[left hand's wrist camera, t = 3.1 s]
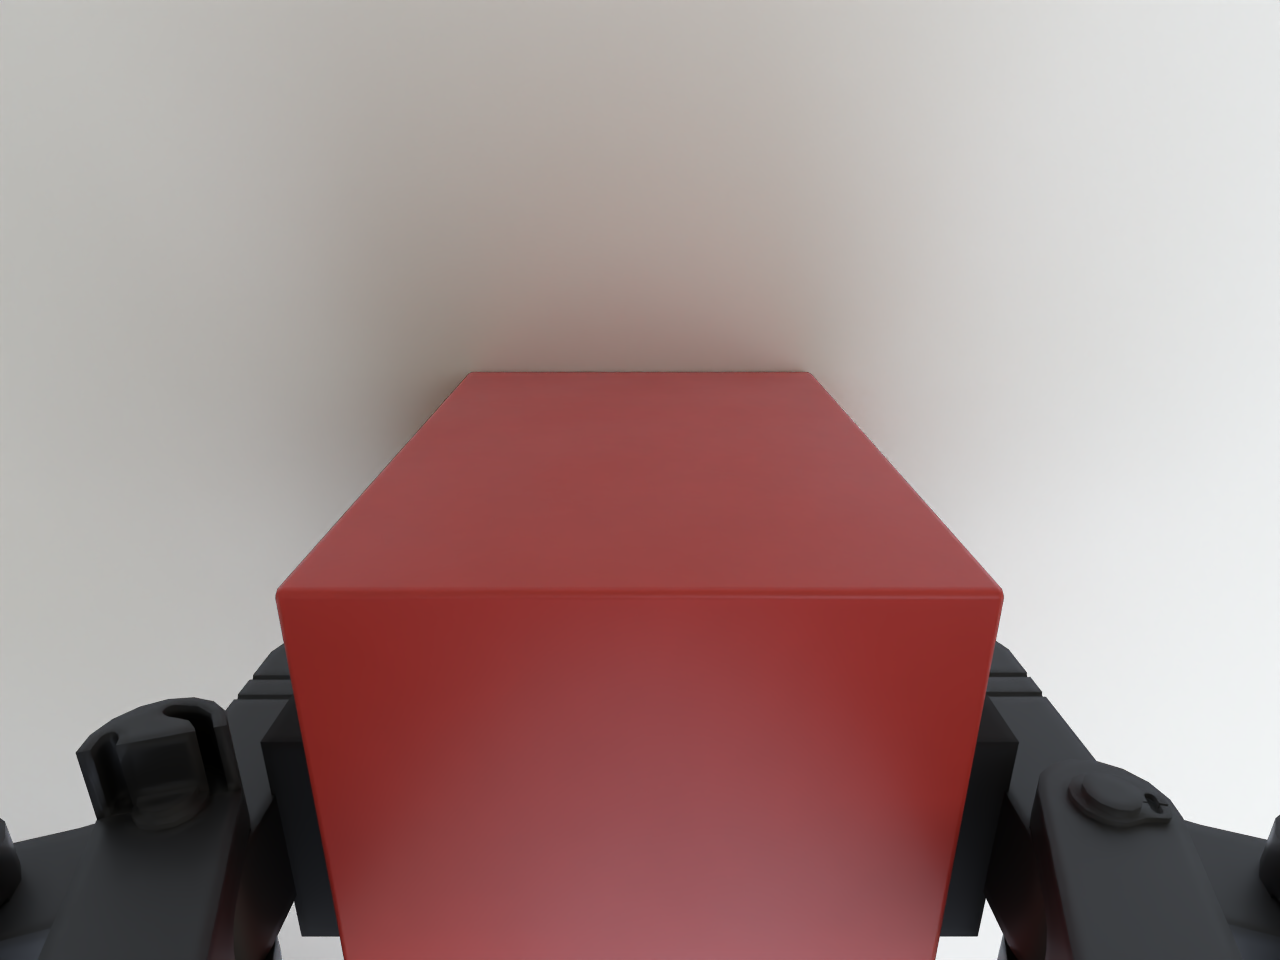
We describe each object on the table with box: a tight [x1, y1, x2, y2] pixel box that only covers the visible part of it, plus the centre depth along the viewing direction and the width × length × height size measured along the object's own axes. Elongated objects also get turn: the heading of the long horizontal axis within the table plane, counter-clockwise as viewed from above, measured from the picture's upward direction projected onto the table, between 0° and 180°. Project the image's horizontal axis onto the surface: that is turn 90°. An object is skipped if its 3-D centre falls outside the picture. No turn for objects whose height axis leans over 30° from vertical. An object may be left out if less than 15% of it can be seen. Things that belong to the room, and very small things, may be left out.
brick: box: [275, 372, 1004, 960], centre depth 12 cm, size 7×6×8 cm
